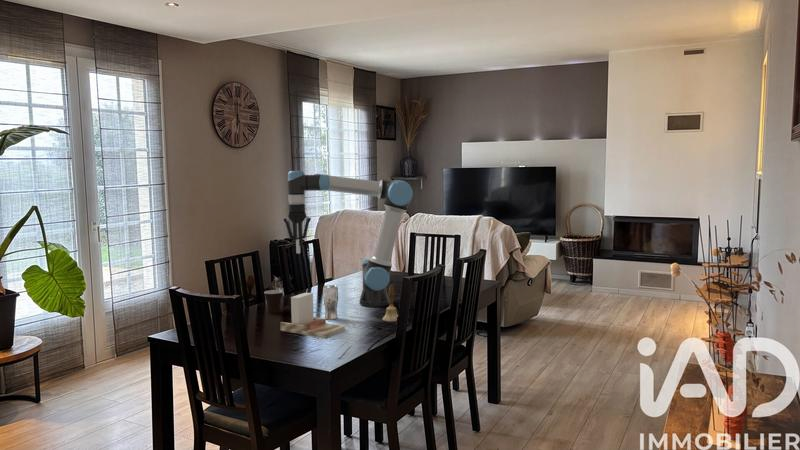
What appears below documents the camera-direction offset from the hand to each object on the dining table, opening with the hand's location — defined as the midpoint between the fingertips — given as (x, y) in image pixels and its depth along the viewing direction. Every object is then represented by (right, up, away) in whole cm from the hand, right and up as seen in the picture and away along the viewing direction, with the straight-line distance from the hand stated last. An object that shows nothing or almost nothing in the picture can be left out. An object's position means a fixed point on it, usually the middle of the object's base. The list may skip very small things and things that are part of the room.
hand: (298, 253), depth 283 cm
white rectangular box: (+6, -30, -23) cm, 38 cm away
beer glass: (+16, -30, -7) cm, 35 cm away
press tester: (+11, -32, -26) cm, 42 cm away
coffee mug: (-13, -29, +8) cm, 33 cm away
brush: (+44, -30, -10) cm, 55 cm away
